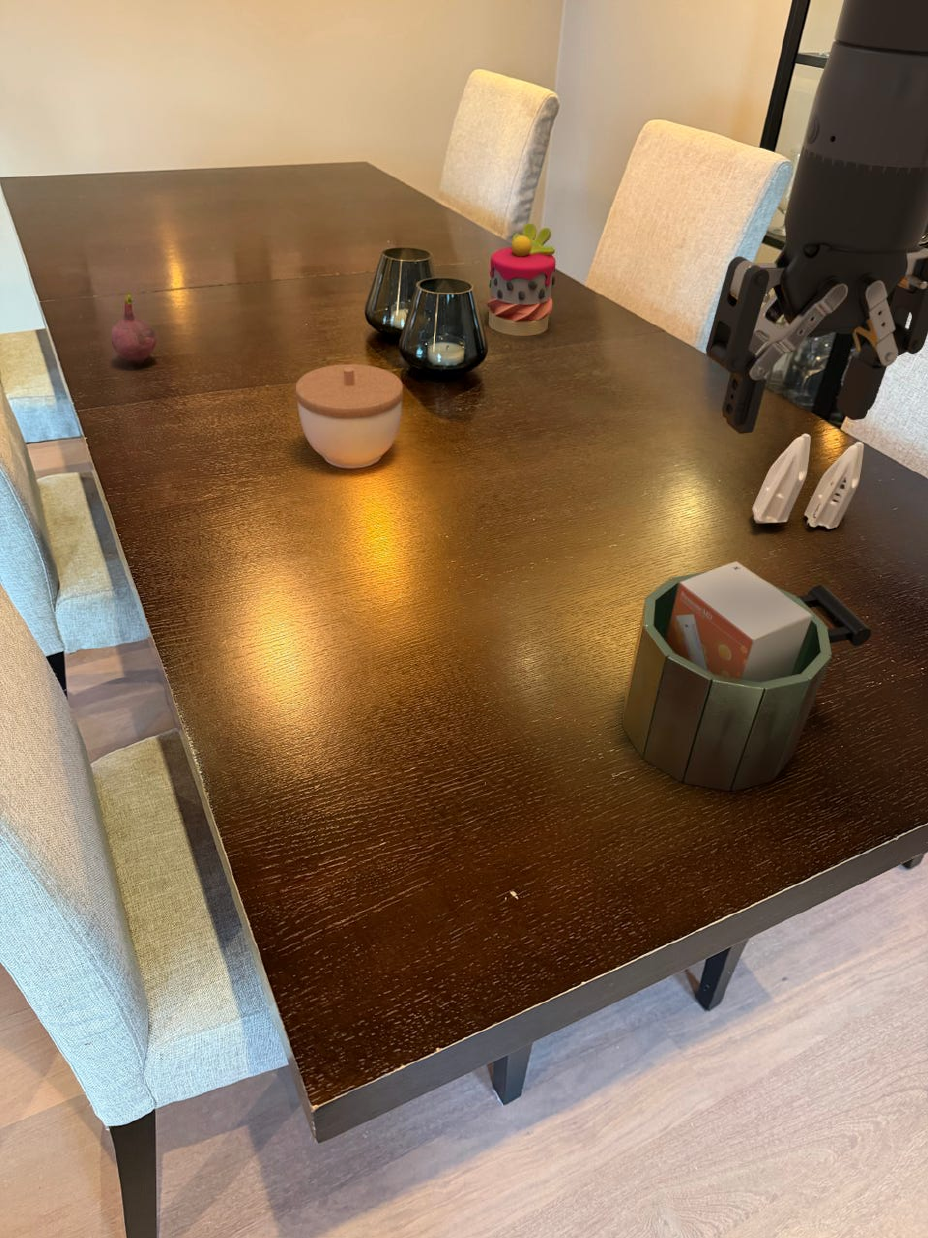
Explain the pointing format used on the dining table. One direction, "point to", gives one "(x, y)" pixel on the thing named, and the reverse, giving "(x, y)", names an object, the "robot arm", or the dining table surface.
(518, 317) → the cake
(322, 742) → the dining table surface
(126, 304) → the vegetable
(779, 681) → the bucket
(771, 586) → the small box
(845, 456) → the shaker set
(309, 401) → the lidded bowl
